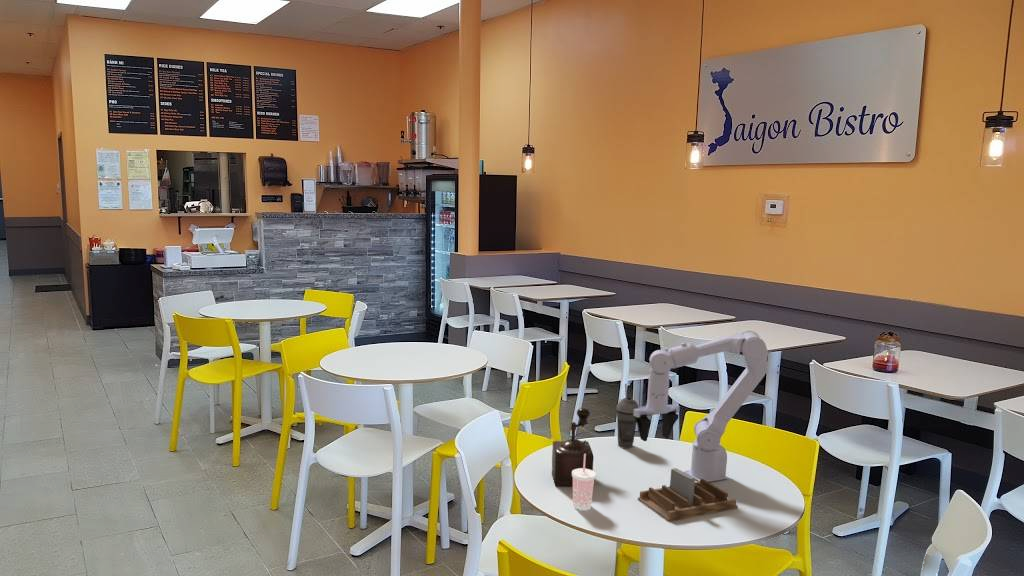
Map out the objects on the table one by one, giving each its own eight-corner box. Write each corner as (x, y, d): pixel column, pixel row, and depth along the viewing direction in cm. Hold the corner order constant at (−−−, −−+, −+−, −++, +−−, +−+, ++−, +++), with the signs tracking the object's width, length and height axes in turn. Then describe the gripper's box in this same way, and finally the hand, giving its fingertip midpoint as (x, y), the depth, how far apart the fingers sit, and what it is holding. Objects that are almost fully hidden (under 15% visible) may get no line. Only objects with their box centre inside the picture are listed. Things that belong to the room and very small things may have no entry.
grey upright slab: (673, 496, 189) (675, 467, 188) (692, 507, 183) (695, 477, 182) (669, 497, 188) (671, 469, 187) (688, 508, 182) (690, 478, 181)
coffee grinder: (595, 487, 194) (599, 424, 191) (554, 487, 193) (557, 423, 191) (586, 465, 209) (590, 406, 207) (548, 464, 209) (551, 405, 206)
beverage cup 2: (631, 451, 222) (635, 389, 219) (609, 446, 225) (613, 384, 223) (640, 445, 228) (644, 384, 225) (619, 440, 232) (623, 380, 229)
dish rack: (704, 487, 197) (705, 475, 196) (737, 508, 185) (738, 494, 185) (637, 499, 188) (638, 486, 187) (668, 521, 176) (669, 507, 176)
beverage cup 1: (598, 506, 183) (601, 454, 181) (584, 514, 178) (588, 460, 176) (578, 499, 187) (581, 447, 185) (565, 506, 182) (567, 453, 180)
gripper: (670, 386, 210) (666, 431, 212) (628, 390, 204) (625, 436, 206) (685, 393, 204) (681, 439, 206) (643, 397, 198) (639, 445, 200)
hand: (654, 438), depth 206 cm, fingers open, 7 cm apart
